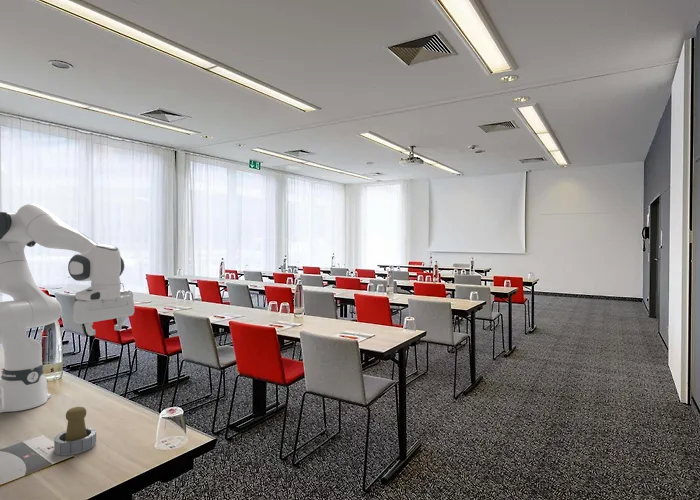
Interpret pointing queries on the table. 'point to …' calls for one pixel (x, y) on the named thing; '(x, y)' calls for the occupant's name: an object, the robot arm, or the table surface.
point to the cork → (76, 424)
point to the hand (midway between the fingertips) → (105, 332)
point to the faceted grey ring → (74, 443)
